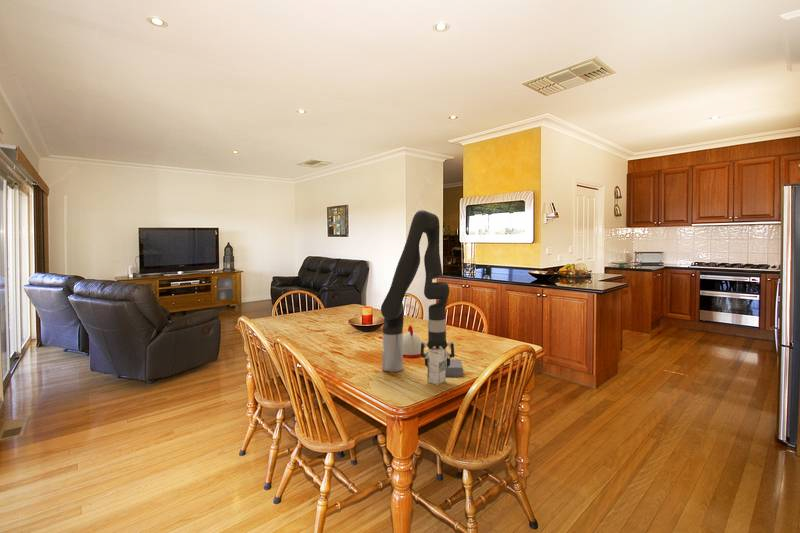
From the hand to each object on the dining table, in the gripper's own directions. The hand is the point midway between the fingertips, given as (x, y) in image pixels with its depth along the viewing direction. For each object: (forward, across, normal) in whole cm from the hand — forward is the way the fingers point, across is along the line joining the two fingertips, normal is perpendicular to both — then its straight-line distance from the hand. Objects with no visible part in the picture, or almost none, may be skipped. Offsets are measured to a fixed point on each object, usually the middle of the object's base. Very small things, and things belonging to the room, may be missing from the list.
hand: (437, 366), depth 166 cm
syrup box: (+6, 0, -1) cm, 6 cm away
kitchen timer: (+7, -12, +37) cm, 40 cm away
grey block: (+6, +6, +11) cm, 14 cm away
